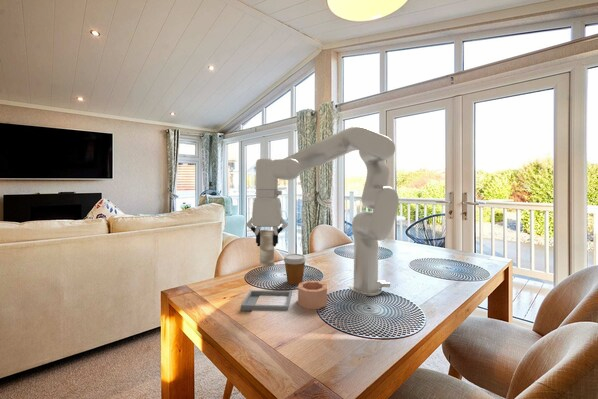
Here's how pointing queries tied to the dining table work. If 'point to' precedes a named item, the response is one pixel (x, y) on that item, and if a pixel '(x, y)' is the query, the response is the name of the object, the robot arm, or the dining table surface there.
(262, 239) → the peg
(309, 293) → the terracotta octagonal pot
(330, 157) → the robot arm
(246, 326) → the dining table surface
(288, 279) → the disposable coffee cup
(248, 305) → the tray
